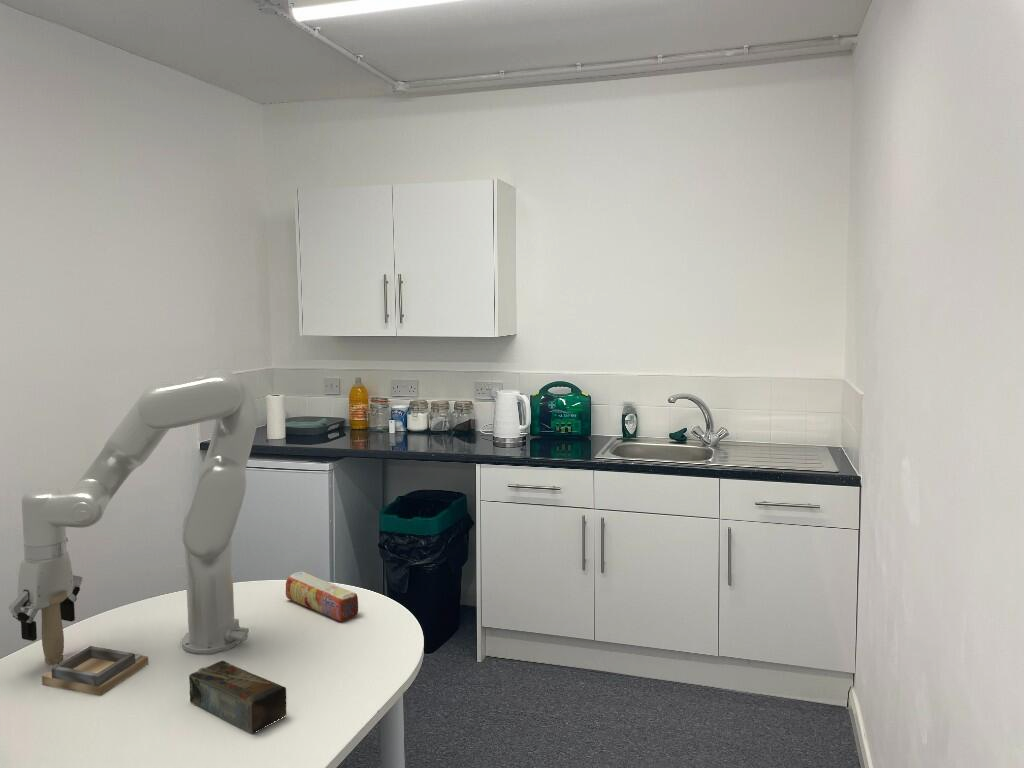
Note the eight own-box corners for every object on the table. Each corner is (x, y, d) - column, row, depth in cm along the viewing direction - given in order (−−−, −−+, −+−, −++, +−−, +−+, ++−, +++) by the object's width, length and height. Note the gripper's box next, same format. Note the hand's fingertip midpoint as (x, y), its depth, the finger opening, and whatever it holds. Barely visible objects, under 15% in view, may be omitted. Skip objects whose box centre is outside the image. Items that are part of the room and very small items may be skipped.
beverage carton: (224, 686, 163) (223, 655, 162) (289, 717, 152) (288, 684, 151) (188, 703, 156) (186, 671, 155) (253, 737, 145) (252, 702, 144)
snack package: (361, 616, 195) (360, 589, 195) (339, 625, 190) (338, 597, 189) (305, 593, 209) (305, 567, 208) (283, 601, 204) (283, 575, 203)
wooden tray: (148, 664, 171) (147, 647, 170) (100, 695, 158) (99, 677, 158) (92, 655, 174) (91, 638, 174) (42, 684, 162) (40, 666, 162)
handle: (62, 668, 168) (57, 598, 166) (32, 667, 169) (26, 597, 167) (76, 657, 173) (71, 589, 171) (47, 656, 174) (42, 588, 172)
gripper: (64, 534, 177) (67, 611, 179) (-7, 561, 160) (-2, 644, 163) (93, 539, 175) (95, 616, 177) (24, 566, 158) (28, 650, 161)
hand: (49, 629), depth 170 cm, fingers open, 9 cm apart
